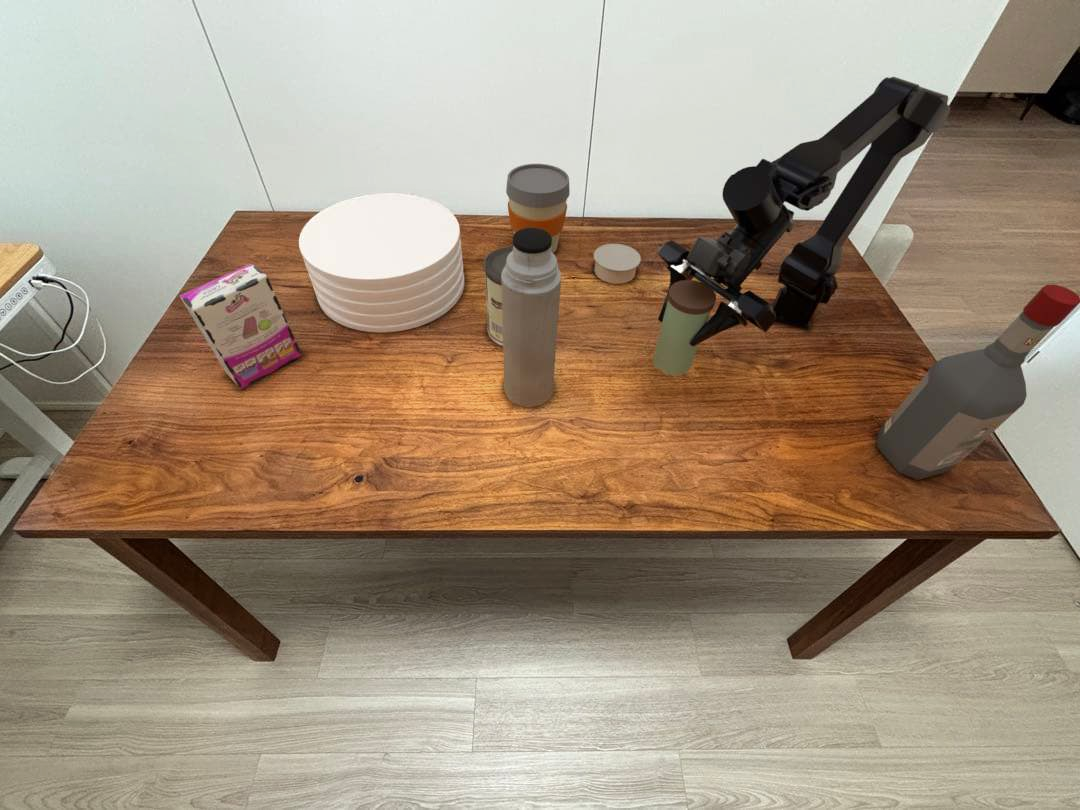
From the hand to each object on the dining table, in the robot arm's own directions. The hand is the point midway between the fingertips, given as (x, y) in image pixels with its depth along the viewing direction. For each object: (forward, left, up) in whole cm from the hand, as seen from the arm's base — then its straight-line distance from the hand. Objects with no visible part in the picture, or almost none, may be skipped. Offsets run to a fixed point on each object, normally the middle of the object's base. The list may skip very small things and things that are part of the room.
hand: (675, 332), depth 78 cm
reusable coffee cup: (+32, -34, -14) cm, 49 cm away
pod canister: (-1, -1, -7) cm, 7 cm away
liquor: (-39, -1, -14) cm, 41 cm away
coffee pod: (+14, -31, -13) cm, 37 cm away
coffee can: (+27, -7, -14) cm, 31 cm away
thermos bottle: (+20, +6, -14) cm, 25 cm away
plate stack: (+54, -11, -14) cm, 57 cm away
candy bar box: (+63, +16, -14) cm, 67 cm away
